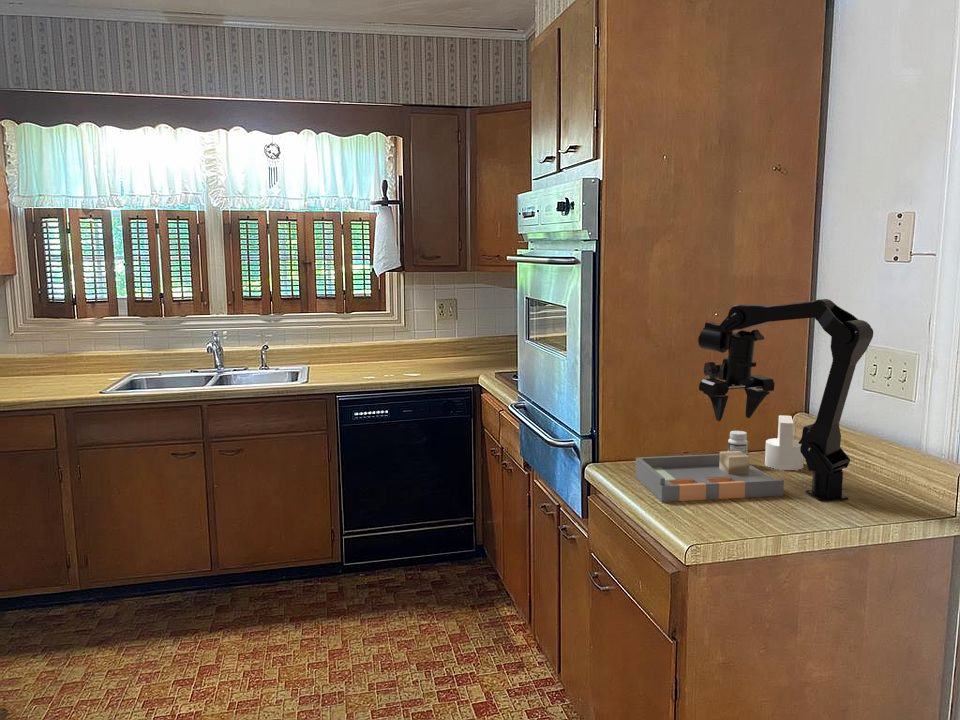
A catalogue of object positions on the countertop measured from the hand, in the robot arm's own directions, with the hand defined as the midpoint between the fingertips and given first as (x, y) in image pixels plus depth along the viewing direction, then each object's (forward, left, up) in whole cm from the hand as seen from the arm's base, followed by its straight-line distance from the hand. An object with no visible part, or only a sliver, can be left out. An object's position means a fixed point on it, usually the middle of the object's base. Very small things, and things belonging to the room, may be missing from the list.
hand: (733, 419), depth 182 cm
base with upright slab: (+4, -16, -14) cm, 21 cm away
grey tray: (-9, +10, -14) cm, 19 cm away
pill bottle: (+7, -5, -14) cm, 16 cm away
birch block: (-6, +2, -11) cm, 13 cm away
